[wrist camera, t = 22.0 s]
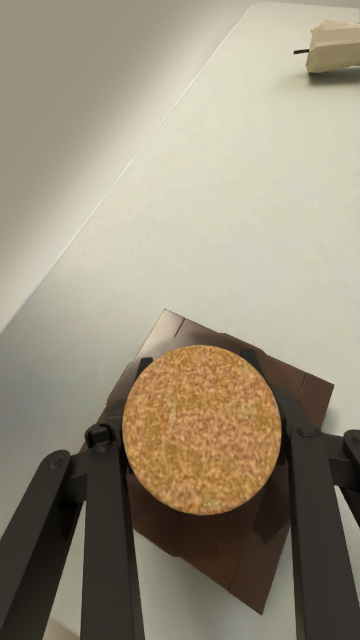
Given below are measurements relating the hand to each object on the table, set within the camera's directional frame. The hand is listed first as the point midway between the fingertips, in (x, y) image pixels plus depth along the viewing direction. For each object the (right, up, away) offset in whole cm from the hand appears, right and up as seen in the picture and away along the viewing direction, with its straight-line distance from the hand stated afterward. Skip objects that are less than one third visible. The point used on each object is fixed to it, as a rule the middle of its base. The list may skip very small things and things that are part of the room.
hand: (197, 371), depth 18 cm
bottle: (+1, -6, +4) cm, 7 cm away
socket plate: (+1, -6, +4) cm, 7 cm away
